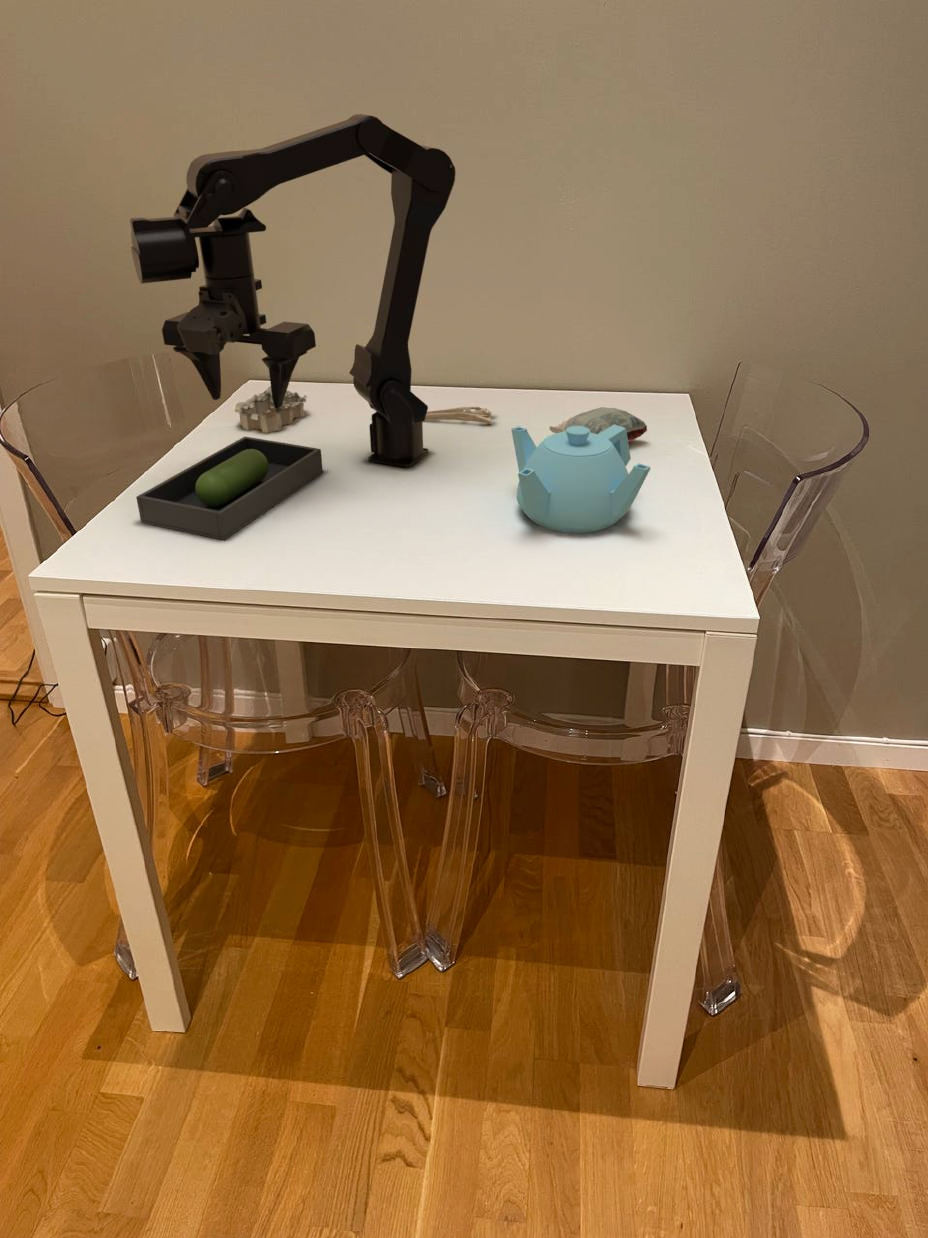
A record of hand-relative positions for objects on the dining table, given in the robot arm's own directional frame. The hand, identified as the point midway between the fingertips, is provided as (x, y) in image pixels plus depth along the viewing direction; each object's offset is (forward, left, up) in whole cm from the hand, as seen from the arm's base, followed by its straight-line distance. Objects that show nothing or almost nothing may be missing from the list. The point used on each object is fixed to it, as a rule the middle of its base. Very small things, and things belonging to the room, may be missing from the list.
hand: (247, 403), depth 119 cm
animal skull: (-11, -31, -11) cm, 35 cm away
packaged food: (-37, -31, -11) cm, 50 cm away
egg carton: (+12, -21, -11) cm, 27 cm away
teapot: (-41, -7, -11) cm, 43 cm away
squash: (0, +5, -10) cm, 11 cm away
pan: (0, +5, -11) cm, 12 cm away
